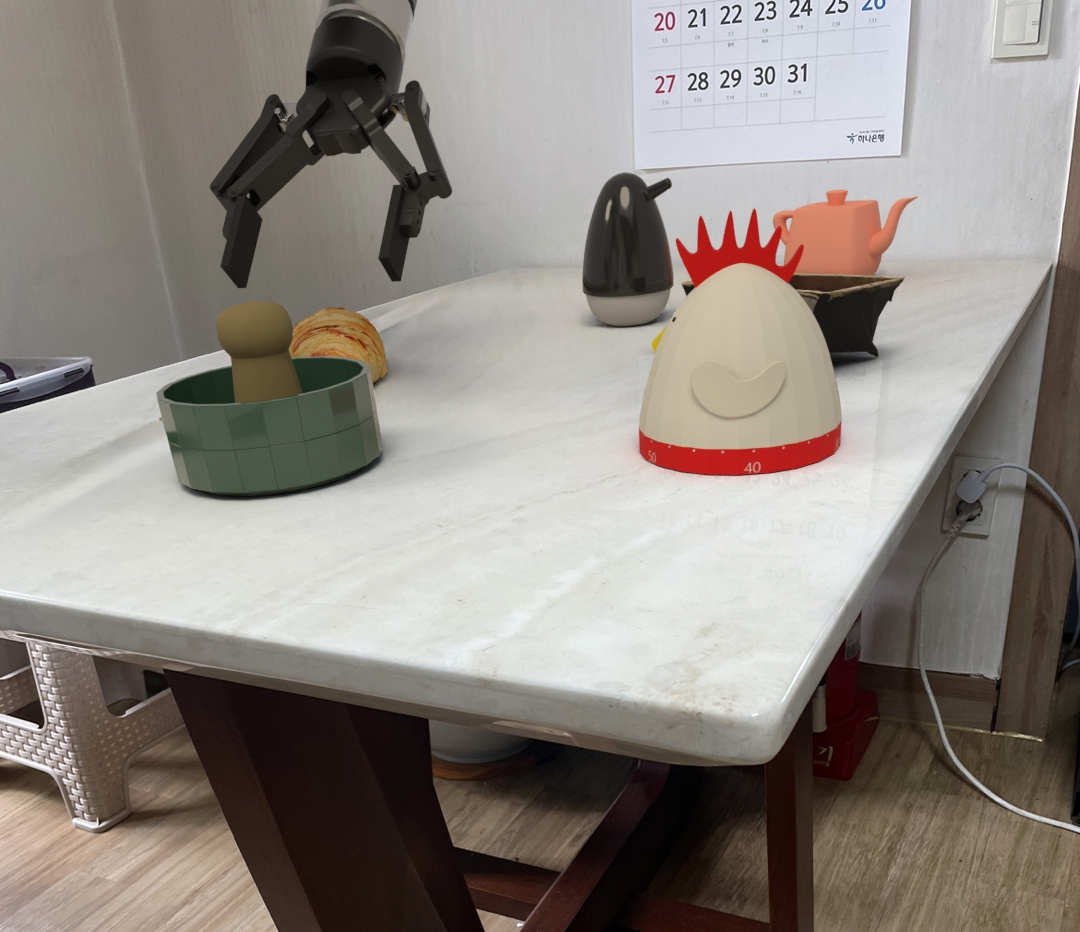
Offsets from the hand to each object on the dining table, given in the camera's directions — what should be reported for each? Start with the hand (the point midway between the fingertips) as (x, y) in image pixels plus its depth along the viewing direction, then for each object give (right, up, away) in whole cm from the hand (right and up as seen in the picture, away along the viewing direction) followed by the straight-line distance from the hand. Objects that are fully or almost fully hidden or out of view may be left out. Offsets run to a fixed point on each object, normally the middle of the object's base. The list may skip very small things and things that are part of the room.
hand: (309, 274), depth 81 cm
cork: (-1, -16, -3) cm, 16 cm away
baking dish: (+40, -3, +14) cm, 42 cm away
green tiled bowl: (-1, -16, -3) cm, 16 cm away
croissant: (-2, -1, +22) cm, 22 cm away
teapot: (+56, +20, +50) cm, 78 cm away
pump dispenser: (+28, +10, +38) cm, 48 cm away
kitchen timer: (+32, -16, -7) cm, 36 cm away
